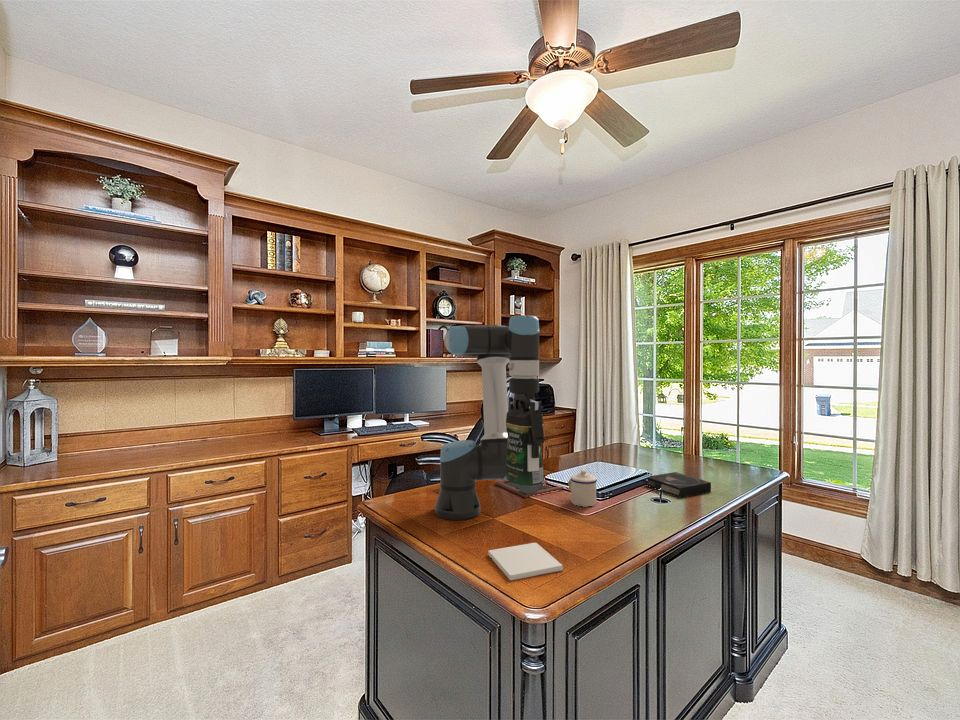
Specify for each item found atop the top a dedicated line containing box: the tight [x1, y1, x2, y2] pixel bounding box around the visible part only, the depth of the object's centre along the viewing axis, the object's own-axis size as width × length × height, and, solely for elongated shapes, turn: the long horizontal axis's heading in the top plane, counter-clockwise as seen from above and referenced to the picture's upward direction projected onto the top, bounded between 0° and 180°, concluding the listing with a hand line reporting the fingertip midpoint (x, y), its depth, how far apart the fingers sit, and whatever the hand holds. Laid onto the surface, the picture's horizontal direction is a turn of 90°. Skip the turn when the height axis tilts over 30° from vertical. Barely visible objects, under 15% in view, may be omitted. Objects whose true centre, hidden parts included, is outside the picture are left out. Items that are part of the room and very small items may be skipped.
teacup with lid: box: [568, 469, 598, 508], centre depth 158 cm, size 12×9×12 cm
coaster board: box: [487, 542, 564, 581], centre depth 112 cm, size 14×14×1 cm
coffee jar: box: [506, 409, 545, 486], centre depth 112 cm, size 10×8×19 cm
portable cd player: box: [645, 471, 712, 499], centre depth 173 cm, size 16×17×4 cm
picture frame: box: [495, 472, 563, 499], centre depth 177 cm, size 20×2×25 cm
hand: (524, 465), depth 112 cm, fingers closed on coffee jar, 9 cm apart
